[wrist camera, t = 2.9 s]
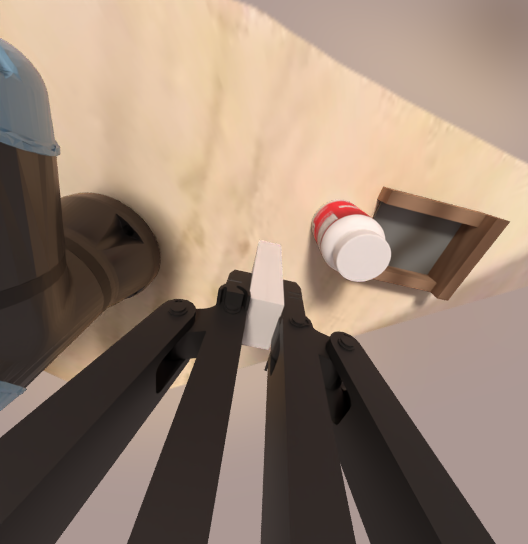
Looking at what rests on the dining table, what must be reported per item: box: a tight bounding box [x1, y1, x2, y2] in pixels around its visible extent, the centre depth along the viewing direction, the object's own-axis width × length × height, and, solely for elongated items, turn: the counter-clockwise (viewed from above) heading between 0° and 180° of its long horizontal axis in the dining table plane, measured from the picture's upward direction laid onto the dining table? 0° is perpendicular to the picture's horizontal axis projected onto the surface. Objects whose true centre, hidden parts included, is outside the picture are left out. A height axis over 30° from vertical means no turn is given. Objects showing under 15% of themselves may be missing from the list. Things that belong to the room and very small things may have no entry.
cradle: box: [373, 187, 510, 301], centre depth 28 cm, size 13×11×4 cm
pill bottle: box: [312, 199, 391, 282], centre depth 25 cm, size 6×6×11 cm
